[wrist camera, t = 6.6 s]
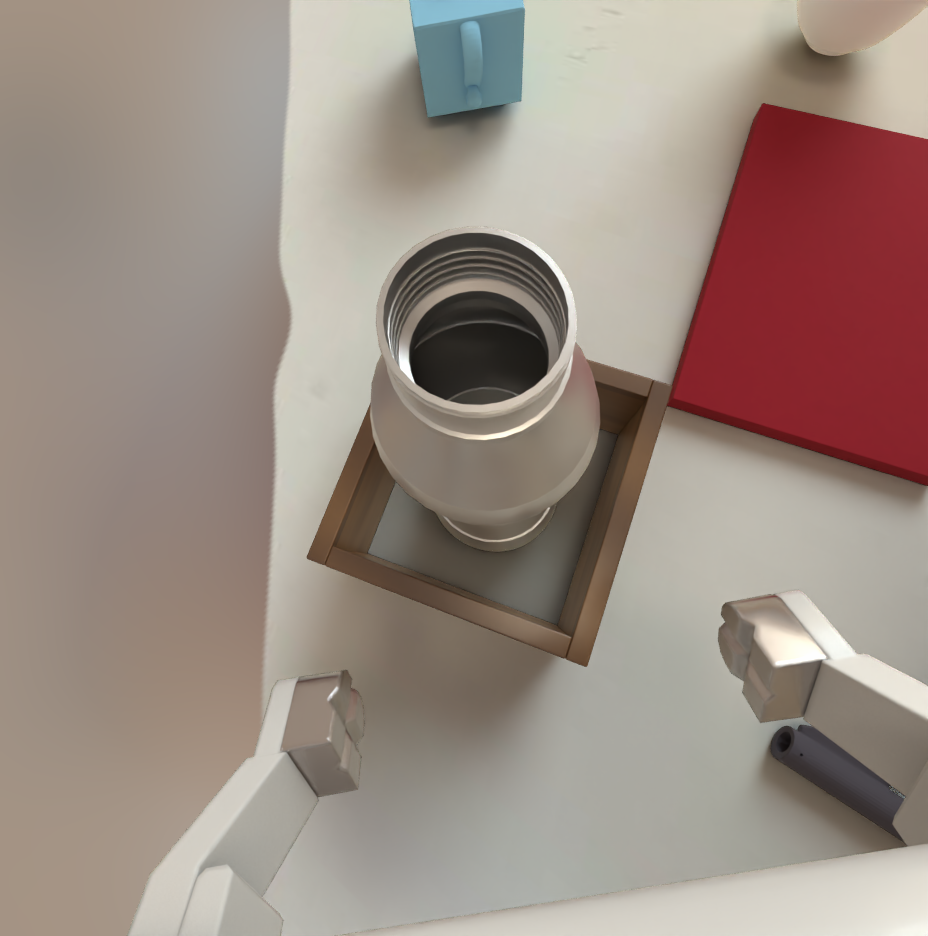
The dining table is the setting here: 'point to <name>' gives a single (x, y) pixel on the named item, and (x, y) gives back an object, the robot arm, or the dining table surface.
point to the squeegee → (837, 773)
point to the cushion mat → (819, 295)
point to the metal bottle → (482, 385)
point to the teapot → (469, 52)
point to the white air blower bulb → (852, 22)
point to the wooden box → (638, 423)
